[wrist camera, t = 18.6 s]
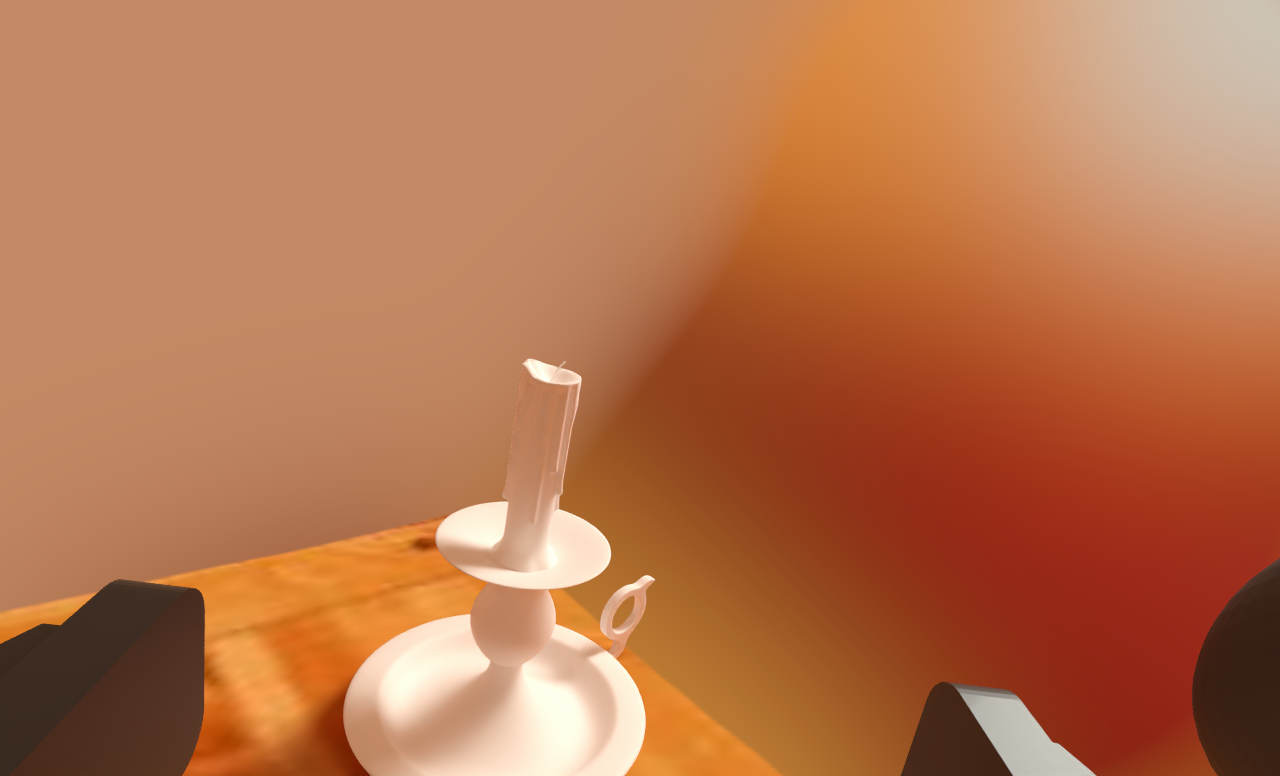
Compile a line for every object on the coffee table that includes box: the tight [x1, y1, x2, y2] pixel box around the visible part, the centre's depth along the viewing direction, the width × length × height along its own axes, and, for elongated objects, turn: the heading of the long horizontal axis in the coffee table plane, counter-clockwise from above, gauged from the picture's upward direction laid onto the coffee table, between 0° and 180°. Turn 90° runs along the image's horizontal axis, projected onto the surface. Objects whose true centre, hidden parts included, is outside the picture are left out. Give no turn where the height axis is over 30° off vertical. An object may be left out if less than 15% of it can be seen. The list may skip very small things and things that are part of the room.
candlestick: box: [343, 359, 655, 776], centre depth 52 cm, size 21×25×28 cm
